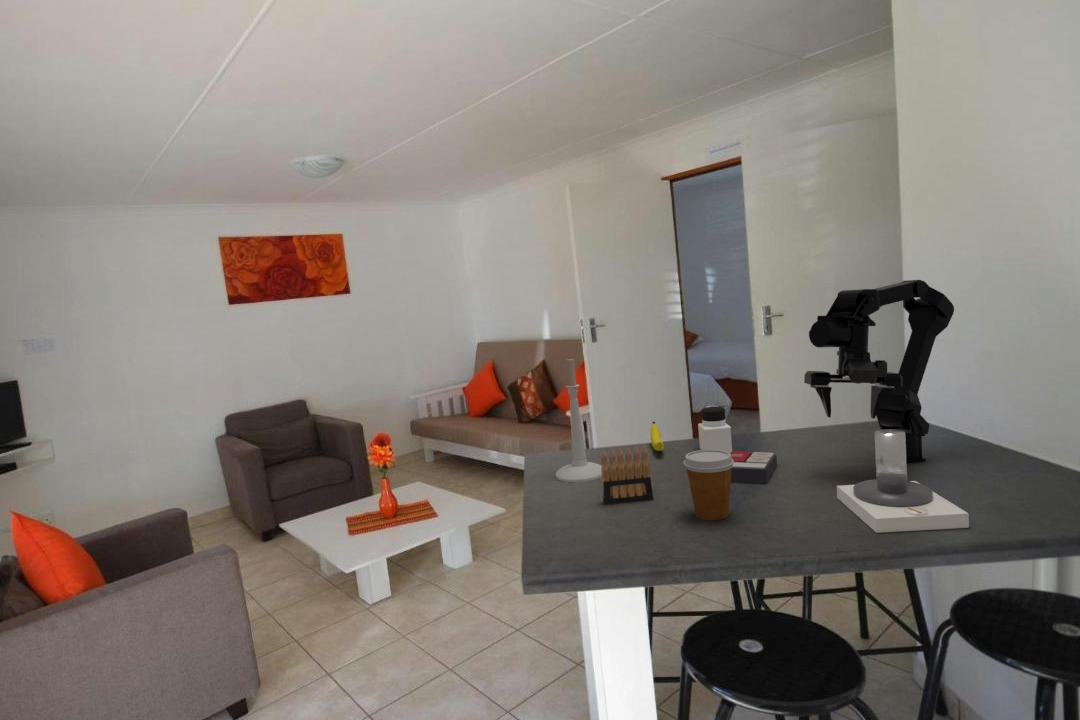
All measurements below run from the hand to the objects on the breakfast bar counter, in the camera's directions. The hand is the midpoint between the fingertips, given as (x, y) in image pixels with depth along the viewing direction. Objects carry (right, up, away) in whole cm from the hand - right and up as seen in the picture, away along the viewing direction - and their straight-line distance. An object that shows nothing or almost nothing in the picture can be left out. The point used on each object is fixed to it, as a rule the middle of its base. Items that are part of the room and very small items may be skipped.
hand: (850, 417), depth 138 cm
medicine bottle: (-21, -12, +30) cm, 39 cm away
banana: (-36, -13, +36) cm, 52 cm away
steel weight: (-2, -12, -20) cm, 24 cm away
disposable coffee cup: (-35, -18, -15) cm, 42 cm away
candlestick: (-58, -17, +21) cm, 64 cm away
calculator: (-20, -14, +9) cm, 26 cm away
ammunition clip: (-49, -18, -2) cm, 53 cm away
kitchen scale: (-2, -15, -22) cm, 27 cm away
